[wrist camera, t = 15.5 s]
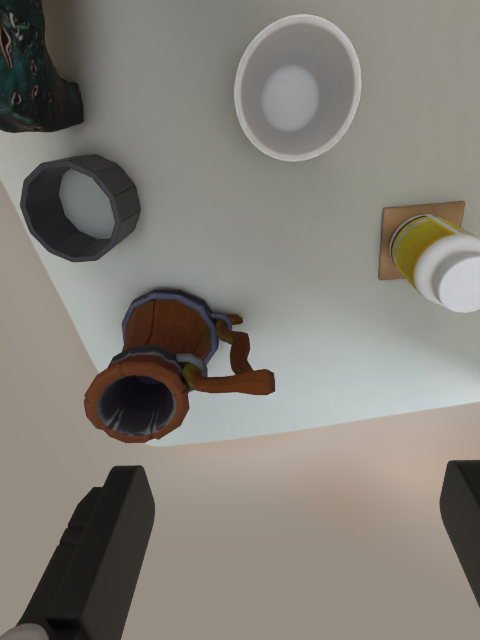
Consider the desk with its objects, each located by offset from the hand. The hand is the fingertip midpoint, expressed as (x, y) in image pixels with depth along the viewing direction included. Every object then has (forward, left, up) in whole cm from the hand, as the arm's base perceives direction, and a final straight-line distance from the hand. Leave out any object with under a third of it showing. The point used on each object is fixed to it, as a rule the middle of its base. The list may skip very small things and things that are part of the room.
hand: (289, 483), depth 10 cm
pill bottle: (+4, +14, -32) cm, 35 cm away
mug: (+12, -10, -32) cm, 36 cm away
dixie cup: (-10, +2, -32) cm, 34 cm away
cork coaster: (+4, +14, -32) cm, 35 cm away
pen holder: (-3, -18, -32) cm, 37 cm away
